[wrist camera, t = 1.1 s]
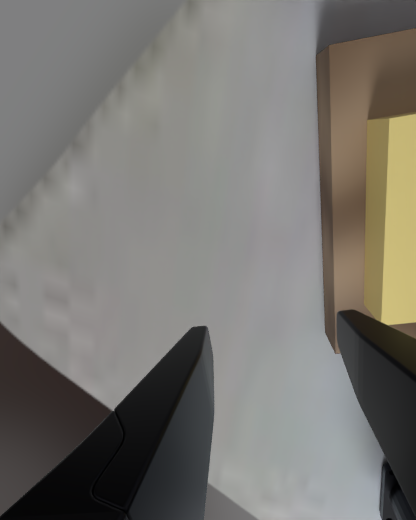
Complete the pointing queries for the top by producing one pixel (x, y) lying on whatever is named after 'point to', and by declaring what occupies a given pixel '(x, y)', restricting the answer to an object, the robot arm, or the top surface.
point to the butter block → (391, 219)
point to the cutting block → (355, 154)
